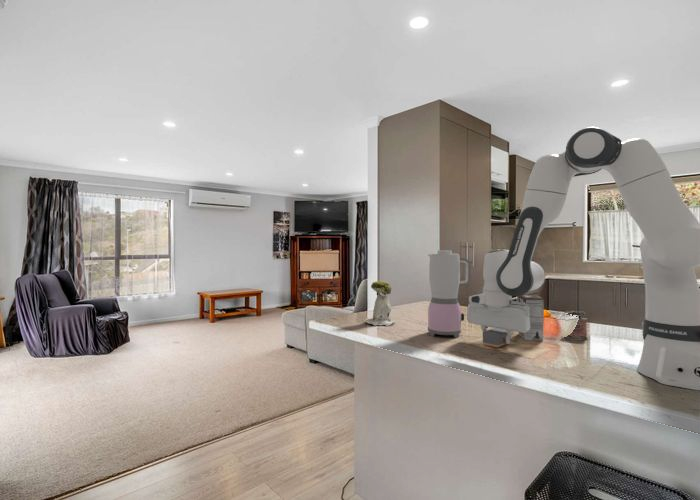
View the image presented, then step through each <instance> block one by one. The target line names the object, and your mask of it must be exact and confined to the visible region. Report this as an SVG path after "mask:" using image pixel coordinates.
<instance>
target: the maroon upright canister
mask: <svg viewBox="0 0 700 500" xmlns="http://www.w3.org/2000/svg"><path fill="white" fill-rule="evenodd" d="M566 313H568V314H566ZM570 314H572V316H573V315H577V316H576V317H578V318H579V320H578V322H577V325H576V327H575V329H574V330H573V332H572V333H571V334H570V335H568V336H567V337H564V338H563V340H573V341H575V340H576V341H587V340H588V336H587V335H588V333H587V331H588V330H587V329H588V318H586V317H582V316H586V312H585V311H575V310H571V311H565V315H569V316H570Z"/></svg>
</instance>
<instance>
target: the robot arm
mask: <svg viewBox="0 0 700 500" xmlns="http://www.w3.org/2000/svg"><path fill="white" fill-rule="evenodd" d="M601 170H605V171H607V172H608V173H609V174H610V176H611V177H612V178H613V180H614V182H615V186H616V187H617V190H618V191H619V194H620V196H621V199H622V201H623V203H624V205H625V207H626V209H627V211H628V213H629V216H630V217H631V218H632V219H633V220H634V221H635V224H637V227H639V230H640V231H641V233H642V235H643V238H642V239H641V241H640V243H639V252H640V257H641V268H642V269H641V270H642V276H643V281H644V288H645V304H644V305H645V306H644V308H645V309H644V310H645V312H644V313H645V315H644V316H645V318H643V320H642V321H643V322H642V327H641V328H642V329H641V330H642V334H641V336H642V339H643V346H642V351H641V356H640V359H639V363H638V365H637V367H636V371H637V372H638V373H640V374H641V375H644V376H645V377H647V378H651V379H653V380H655V381H656V382H658V383H660V384H661V385H666V386H672V387H673V386H674V387H678V388H685V389H688V390H689V389H690V390H695V391H700V286H699V283H698V279H697V276H696V275H697V274H696V270H695V268H698V267H700V222H699V220H698V218H696V216H695V215H694V213H693V212H692V210H691V209H690V208H689V207H688V206H687V204H686V203H685V202H684V200H683V198H682V197H681V195H680V193H679V191H678V189H677V187H676V185H675V183H674V180H673V179H672V176H671V175H670V172H669V170H668V168H667V166H666V164H665V162H664V160H663V159H662V157H661V156H660V154H659V153H658V151H657V150H656V148H654V146H653V145H652V143H651V142H650V141H648V140H646V139H645V138H641V137H640V138H631V139H627V140H625V141H622V140H621V139H620V138H619V137H617V136H616V135H613V134H612V133H610V132H609V131H607V130H605V129H602V128H600V127H596V126H589V127H584V128H581V129H580V130H578V131H577V132H575V133H574V134H573V135H572V136H571V137H569V140H567V143H566V146H565V151H563V152H562V153H558V154H556V153H553V154H552V153H551V154H545V155H543V156H540V157H539V158H538V159H536V162H535V163H534V165H533V168H532V170H531V172H530V175H529V178H528V180H527V184H526V188H525V193H524V197H523V202H522V206H521V211H520V213H519V218H518V221H517V224H516V227H515V231H514V233H513V237H512V240H511V243H510V246H509V249H497V250H491V251H489V252H487V253H486V254H485V255H484V258H483V259H484V261H483V265H482V266H483V267H482V269H483V271H482V278H483V281H484V282H483V286H482V292H481V293H477V294H473V295H470V296H468V302H469V303H468V305H467V308H466V321H467V322H468V324H473V325H478V326H480V329H481V331H482V333H483V332H484V331H487V330H488V328H493V329H494V328H499V329H505V330H506V333H508V335H507V336H506V337H504V338H503V343H506V344H509V343H510V337H512V336H513V335H514V334H515V333H514V332H516V333H517V332H518V333H519V332H521V333H525V332H528V331H529V330H530V318H529V315H530V308H529V306H528V305H527V304H525V303H524V302H519V301H515V300H513V297H519V296H521V295H526V294H527V293H530V292H533V291H536V290H538V289H539V288H541V287H543V284H544V283H545V281H546V272H545V269H544V268H543V266H541V264H539V263H537V262H535V261H532V259H533V256H534V252H535V248H536V245H537V244H538V243H537V242H538V239H539V237H540V235H541V232H542V231H543V230H544V229H545V228H546V227H547V226H548V225H549V224H551V223H552V222H554V221H556V220H557V219H558V218H559V216H560V214H561V212H562V210H563V208H564V206H565V203H566V200H567V195H568V191H569V188H570V183H571V181H572V179H573V178H574V177H575V178H576V177H579V176H587V175H588V176H589V175H593V174H595V173H598V172H599V171H601ZM525 305H526V306H525Z"/></svg>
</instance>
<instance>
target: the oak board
mask: <svg viewBox="0 0 700 500" xmlns="http://www.w3.org/2000/svg"><path fill="white" fill-rule="evenodd" d="M464 345H469V346H474V347H477V348H482V349H487V350H491V351H495V352H499V353H505V354H510V355H513V356H519V357H522V358H527V359H531V360H535V359H536V358H538V357H541V356H542V355H544V354H546V353H549V352H550V351H552V349H551V348H550V349H549V348H546V347H540V346H536V345H529V344H526V343H525V344H524V343H520V342H516V341H511V342H510V343H509V344H505V345H503V346H500V347H493V346H489V345H484V344H483V337H481V338H478V339H474V340H470V341H468V342H465V343H464Z"/></svg>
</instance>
